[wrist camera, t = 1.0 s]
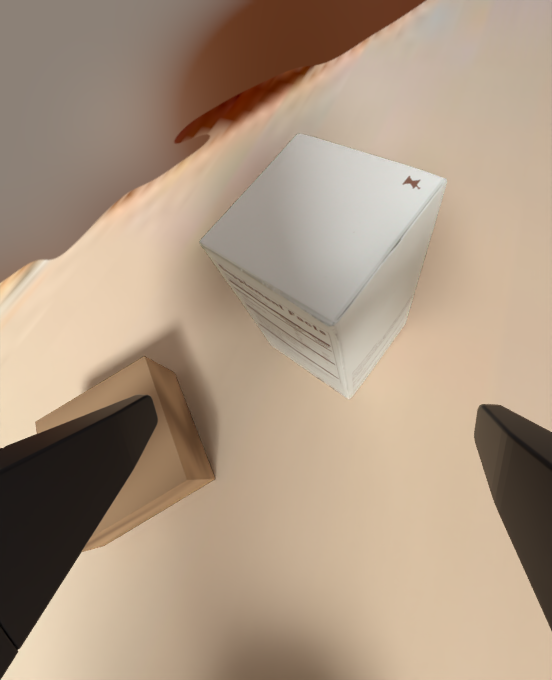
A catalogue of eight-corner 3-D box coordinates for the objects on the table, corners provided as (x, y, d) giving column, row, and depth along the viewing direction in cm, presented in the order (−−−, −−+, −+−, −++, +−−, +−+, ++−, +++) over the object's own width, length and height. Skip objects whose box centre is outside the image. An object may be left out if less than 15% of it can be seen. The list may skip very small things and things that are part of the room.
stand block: (215, 478, 22) (187, 479, 18) (103, 545, 22) (53, 560, 18) (174, 372, 26) (144, 356, 22) (80, 429, 26) (35, 421, 22)
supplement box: (325, 277, 26) (299, 124, 14) (408, 323, 23) (458, 173, 11) (268, 346, 25) (191, 239, 13) (348, 405, 21) (335, 328, 10)
